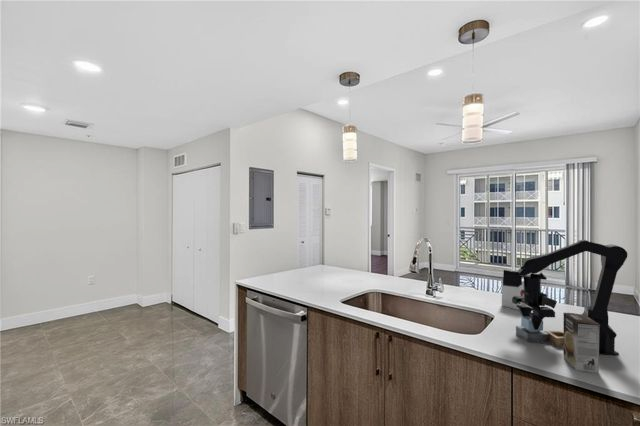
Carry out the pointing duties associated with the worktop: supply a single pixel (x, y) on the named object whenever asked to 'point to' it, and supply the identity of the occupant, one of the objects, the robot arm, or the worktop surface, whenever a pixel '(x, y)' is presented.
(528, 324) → the plug
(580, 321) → the coffee box
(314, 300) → the worktop surface
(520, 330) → the port
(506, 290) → the supplement box
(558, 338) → the tan shallow tray
